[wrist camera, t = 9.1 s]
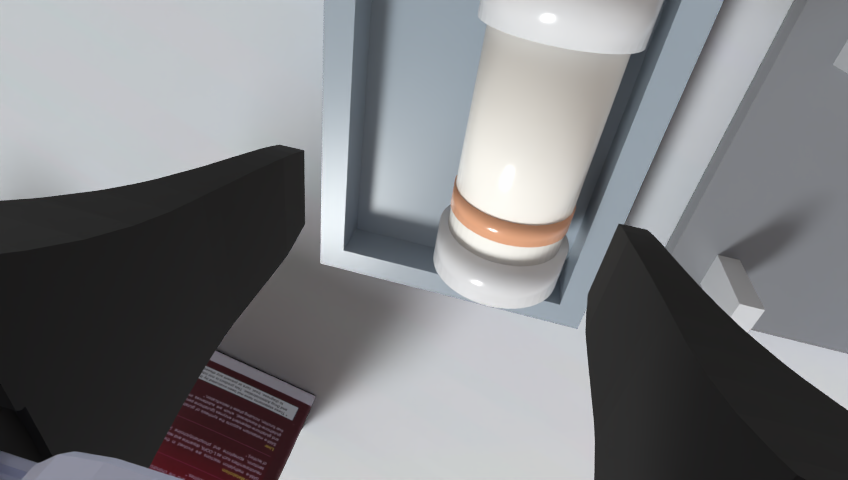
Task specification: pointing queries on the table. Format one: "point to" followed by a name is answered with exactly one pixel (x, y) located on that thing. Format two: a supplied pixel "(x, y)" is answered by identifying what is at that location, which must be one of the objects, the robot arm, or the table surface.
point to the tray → (445, 131)
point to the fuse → (533, 140)
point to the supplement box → (233, 425)
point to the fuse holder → (781, 190)
